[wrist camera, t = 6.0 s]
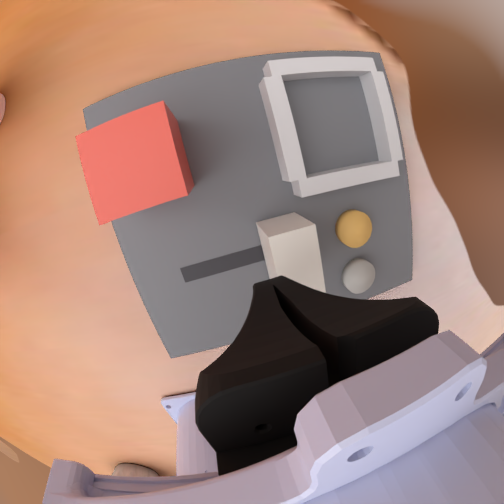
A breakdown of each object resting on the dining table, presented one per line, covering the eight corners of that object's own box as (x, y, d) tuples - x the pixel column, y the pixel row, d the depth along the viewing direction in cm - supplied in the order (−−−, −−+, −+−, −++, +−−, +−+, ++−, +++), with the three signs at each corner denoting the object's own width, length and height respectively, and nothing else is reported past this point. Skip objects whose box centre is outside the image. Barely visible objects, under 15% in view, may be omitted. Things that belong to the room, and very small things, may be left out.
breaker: (305, 271, 17) (326, 294, 14) (270, 282, 17) (284, 308, 14) (294, 212, 16) (315, 224, 13) (255, 222, 16) (268, 237, 13)
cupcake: (102, 470, 25) (95, 521, 16) (110, 450, 23) (100, 513, 14) (160, 487, 28) (160, 538, 18) (178, 470, 26) (180, 531, 16)
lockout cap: (194, 186, 15) (188, 195, 10) (130, 206, 15) (99, 225, 10) (177, 120, 14) (163, 100, 9) (113, 143, 13) (75, 136, 9)
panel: (403, 274, 21) (423, 287, 18) (172, 348, 19) (169, 371, 17) (370, 57, 15) (390, 47, 12) (90, 111, 13) (72, 104, 11)
